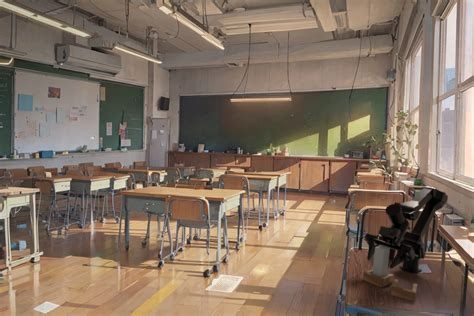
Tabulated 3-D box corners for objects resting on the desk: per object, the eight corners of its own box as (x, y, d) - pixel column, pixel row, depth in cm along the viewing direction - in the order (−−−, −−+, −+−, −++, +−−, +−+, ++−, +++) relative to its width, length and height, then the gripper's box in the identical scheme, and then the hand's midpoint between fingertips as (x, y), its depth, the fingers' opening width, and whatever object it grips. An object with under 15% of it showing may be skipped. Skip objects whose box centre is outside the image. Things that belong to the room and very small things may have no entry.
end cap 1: (374, 277, 153) (375, 267, 153) (392, 284, 148) (393, 274, 147) (362, 281, 148) (363, 272, 148) (381, 289, 142) (382, 279, 142)
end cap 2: (393, 288, 144) (394, 278, 143) (416, 294, 140) (417, 284, 140) (390, 297, 137) (392, 286, 136) (414, 303, 133) (415, 292, 133)
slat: (377, 277, 151) (381, 245, 150) (386, 281, 148) (390, 248, 147) (371, 280, 148) (375, 247, 147) (379, 283, 146) (383, 250, 144)
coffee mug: (398, 262, 173) (401, 240, 172) (378, 259, 174) (380, 237, 173) (392, 253, 184) (394, 232, 183) (373, 250, 185) (375, 230, 184)
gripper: (369, 212, 155) (350, 244, 149) (415, 225, 141) (396, 260, 135) (377, 229, 161) (359, 260, 155) (422, 242, 147) (404, 277, 141)
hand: (378, 263), depth 147 cm, fingers open, 9 cm apart
